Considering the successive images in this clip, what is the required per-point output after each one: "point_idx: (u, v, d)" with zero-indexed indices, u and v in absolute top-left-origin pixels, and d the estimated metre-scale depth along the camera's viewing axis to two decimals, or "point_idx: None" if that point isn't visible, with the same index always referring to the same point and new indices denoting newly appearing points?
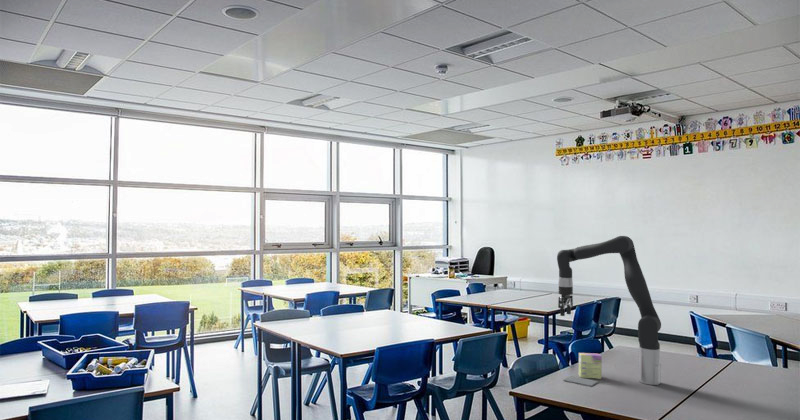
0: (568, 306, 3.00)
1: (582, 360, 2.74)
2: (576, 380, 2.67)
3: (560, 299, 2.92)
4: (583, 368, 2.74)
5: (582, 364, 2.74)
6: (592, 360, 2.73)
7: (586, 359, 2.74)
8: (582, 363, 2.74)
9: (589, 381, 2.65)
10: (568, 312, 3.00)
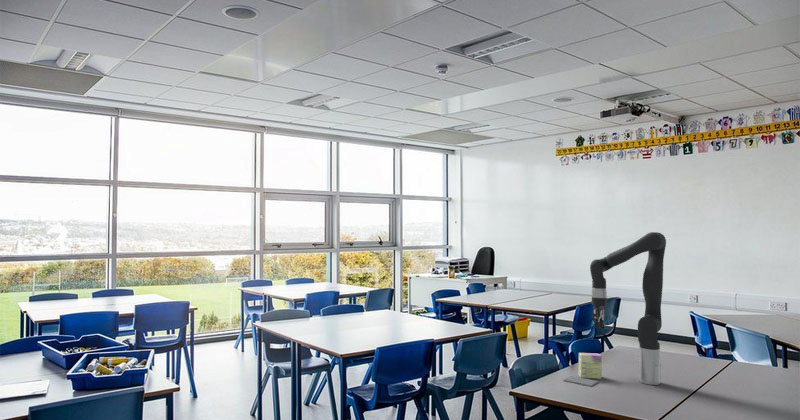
0: (600, 319, 2.89)
1: (582, 360, 2.74)
2: (576, 380, 2.67)
3: (594, 312, 2.82)
4: (583, 368, 2.74)
5: (582, 364, 2.74)
6: (592, 360, 2.73)
7: (586, 359, 2.74)
8: (582, 363, 2.74)
9: (589, 381, 2.65)
10: (600, 325, 2.89)
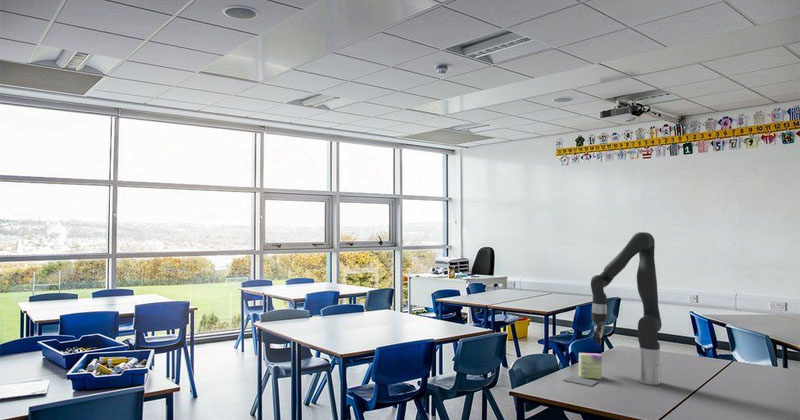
0: None
1: (582, 360, 2.74)
2: (576, 380, 2.67)
3: (595, 331, 2.82)
4: (583, 368, 2.74)
5: (582, 364, 2.74)
6: (592, 360, 2.73)
7: (586, 359, 2.74)
8: (582, 363, 2.74)
9: (589, 381, 2.65)
10: None
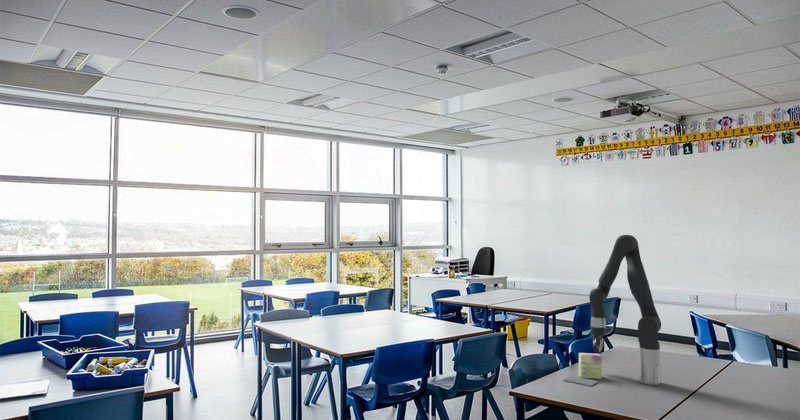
0: None
1: (582, 360, 2.74)
2: (576, 380, 2.67)
3: (594, 345, 2.81)
4: (583, 368, 2.74)
5: (582, 364, 2.74)
6: (592, 360, 2.73)
7: (586, 359, 2.74)
8: (582, 363, 2.74)
9: (589, 381, 2.65)
10: None
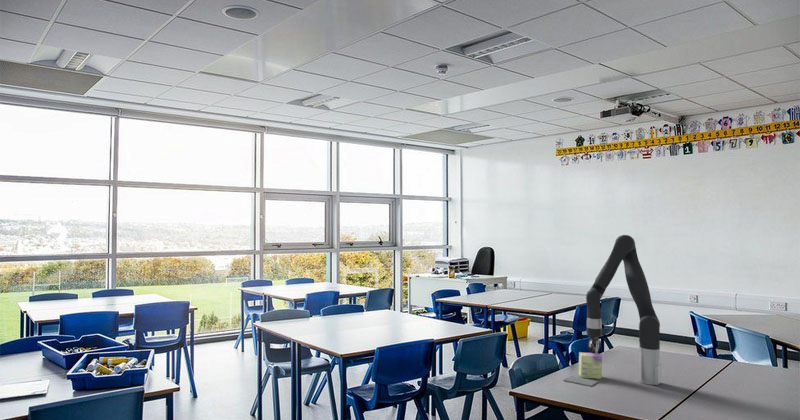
0: None
1: (582, 360, 2.73)
2: (576, 380, 2.67)
3: (590, 346, 2.77)
4: (583, 368, 2.73)
5: (583, 364, 2.73)
6: (592, 360, 2.73)
7: (586, 359, 2.73)
8: (582, 363, 2.73)
9: (589, 381, 2.65)
10: None
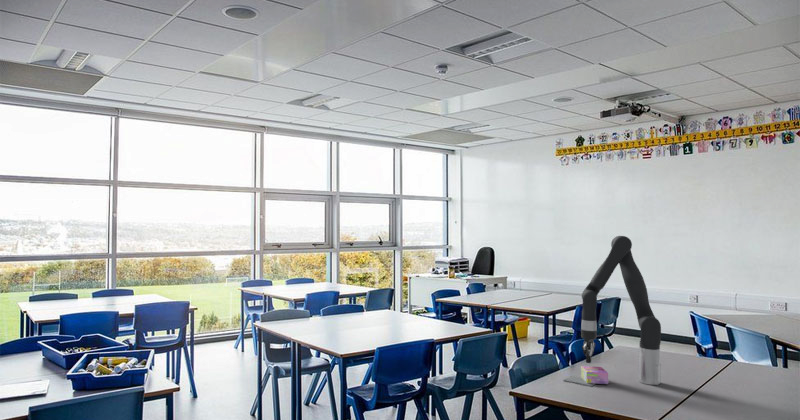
0: None
1: None
2: (576, 380, 2.67)
3: (584, 348, 2.71)
4: None
5: None
6: None
7: None
8: None
9: None
10: None
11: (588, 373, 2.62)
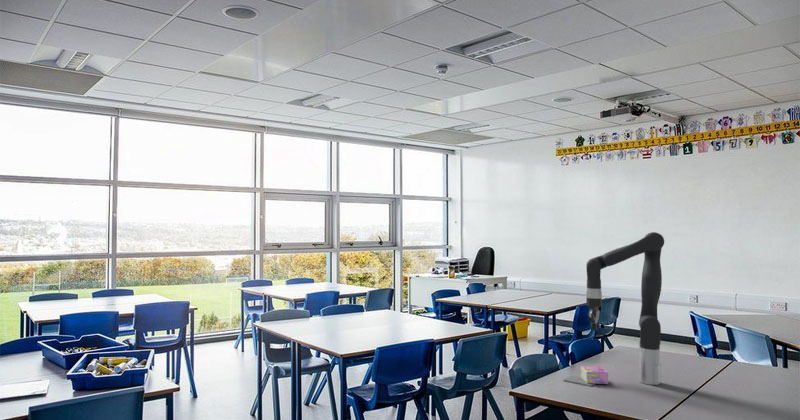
0: None
1: None
2: (576, 380, 2.67)
3: (590, 316, 2.74)
4: None
5: None
6: None
7: None
8: None
9: None
10: None
11: (588, 373, 2.62)
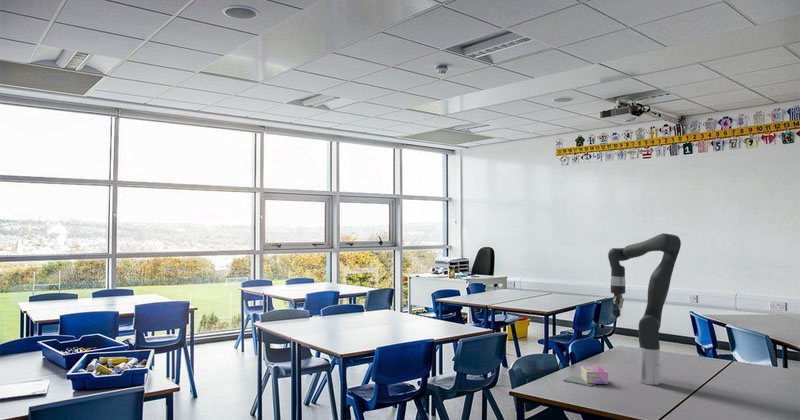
0: None
1: None
2: (576, 380, 2.67)
3: (614, 302, 2.88)
4: None
5: None
6: None
7: None
8: None
9: None
10: None
11: (588, 373, 2.62)
